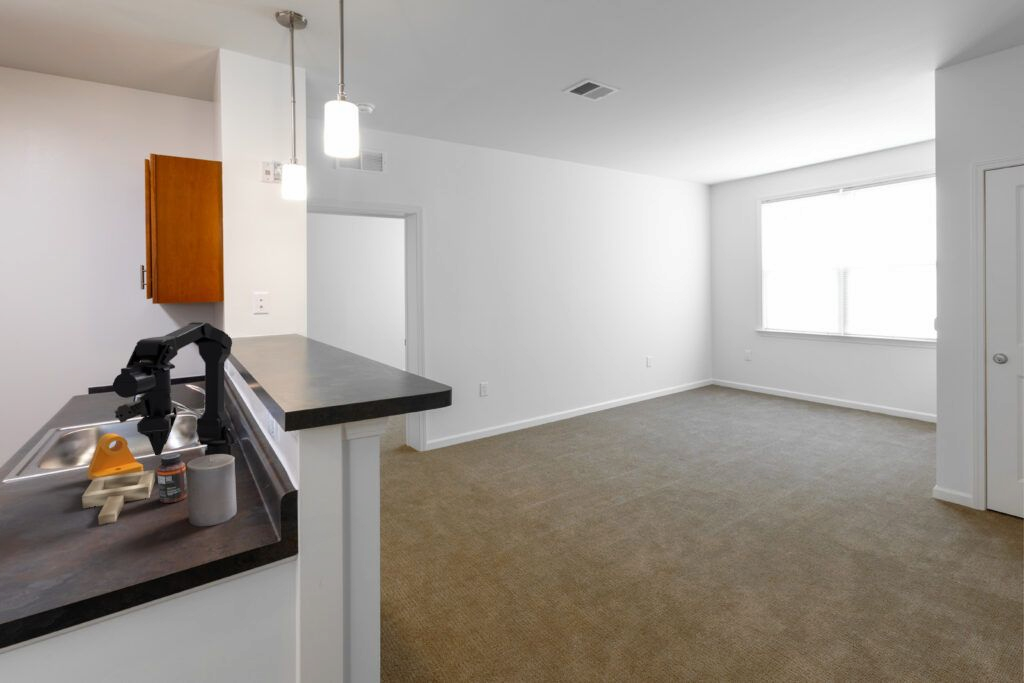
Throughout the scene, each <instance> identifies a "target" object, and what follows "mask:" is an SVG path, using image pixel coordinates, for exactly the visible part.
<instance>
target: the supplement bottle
mask: <svg viewBox="0 0 1024 683" xmlns="http://www.w3.org/2000/svg"><path fill="white" fill-rule="evenodd" d="M160 460H161V461H160V462H161V464H160V465H158V467H157V470H156V471H157V484H158V494H159V501H160V503H163V504H171V503H177V502H181V501H182V500H184V499H186V498H188V484H187V465H186V463H185V462H184V461H182V459H181V454H179V453H169V454H165V455H162V456H161V457H160Z"/></svg>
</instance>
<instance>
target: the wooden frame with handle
mask: <svg viewBox="0 0 1024 683" xmlns="http://www.w3.org/2000/svg"><path fill="white" fill-rule="evenodd" d="M155 482H156V475H155V469H151V470H145V471H144V470H143V472H136V473H128V474H121V475H114V476H107V477H100V478H94V479H93V481H92V480H91V482H90V484H89V486H87V488H86V489H85V492H84V493H83V494H82V496H81V497H82V498H81V500H82V509H89V507H90V508H95V507H94V506H96V507H101V506H102V509H101V510H100V512H99V514H98V516H97V517H98V521H97V522H98V525H99V526H100V525H106V523H107V524H113V523H116V522H117V520H118V517H119V515H120V513H121V510H122V509H123V507H124V504H125V503H126V501H127V502H132V501H139V500H145V498H146V499H150V496H151V494H152V491H153V488H154V484H155ZM121 508H122V509H121Z"/></svg>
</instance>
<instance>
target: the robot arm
mask: <svg viewBox="0 0 1024 683" xmlns="http://www.w3.org/2000/svg"><path fill="white" fill-rule="evenodd" d="M192 343H193V344H194V345H195V346H197V348H198V354H199V356H200V357H201V359H202V360H203V362H204V367H205V368H204V369H205V370H204V412H203V414H202V415H201V416H200V417H199V418H197V420H196V436H197V438H198V441H199V443H200V444H199V445H201V446H204V445H205V446H206V447H205V448H204V456H207V455H213V454H227V455H231V456H232V445H233V444H236V442H237V441H238V433H237V432H236V431H235V429H234V428H233V427H232V425H231V418H230V417H229V415H228V414H227V412H226V410H225V362H226V361H227V360H228V358H229V356H230V355H231V351H232V346H233V339H232V338H231V337H230V335H228V333H226V332H225V331H223V330H221V329H218V328H216V327H214V326H213V325H211V323H209V322H206V321H204V322H203V321H192V322H190V323H188V324H187V325H185V326H182V327H181V328H178V329H176V330H173V331H171V332H170V333H167V334H165V335H163V336H154V337H146V338H142V339H140V340H138V341H137V342H136V345H135V347H134V349H133V350H132V353H131V355H130V357H129V359H128V361H127V364H126V365H125V367H123V368H120V374H118V375H117V376H116V377H115V378H114V380H113V382H112V387H113V391H114V392H115V393H116V394H117V395H118V396H119V397H121V398H124V399H127V398H128V399H129V398H132V397H135V396H138V395H139V396H140V395H141V396H140V397H139V398H140V399H139V400H135V401H132V402H130V403H124V404H122V405H118V407H117V408H116V409H115V410H114V414H115V417H114V418H116V419H118V421H119V423H120V424H121V423H125V422H126V421H128V420H130V419H134V418H135V417H138V416H140V418H141V419H140V420H139V421H138V423H137V424H136V427H137V428H136V429H137V430H136V431H137V433H139V434H140V435H144V436H145V437H147V438H148V440H149V443H150V446H151V448H152V450H153V453H154V456H161V455H162V452H163V450H164V448H165V445H166V444H167V443H168V439H169V437H170V434H171V431H172V430H173V427H174V425H175V421H176V419H177V416H178V415H177V414H178V411H179V410H178V405H177V404H176V403H174V402H173V401H172V396H173V389H172V385H171V384H172V383H171V382H172V381H171V370H173V369H175V368H176V366H175V364H173V363H172V362H171V361H172V360H173V359H174V358H175V357H177V355H178V354H179V353H178V351H179V350H181V349H182V348H185V347H186V346H189V345H190V344H192Z"/></svg>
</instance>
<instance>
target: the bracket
mask: <svg viewBox="0 0 1024 683" xmlns="http://www.w3.org/2000/svg"><path fill="white" fill-rule="evenodd" d="M113 442H115V444H114V446H112V447H110V445H111V444H112V443H113ZM143 471H144V465H143V464H142V463H140V462H138V461H137V459H135V457H134V455H133V453H132V452H131V450H130V449H129V447H128V440H127V438H125V437H123V436H120V435H119V434H116V433H111V432H110V433H105V434H103V435H102V436H101V437H100V438H99V440H98V441H97V444H96V447H95V450H94V452H93V455H92V458H91V461H90V464H89V465H88V468H87V474H86V475H87V478H88V479H89V480H90V481H91V482H92V481H93V479H94V478H100V477H107V476H114V475H121V474H128V473H136V472H143Z"/></svg>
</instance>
